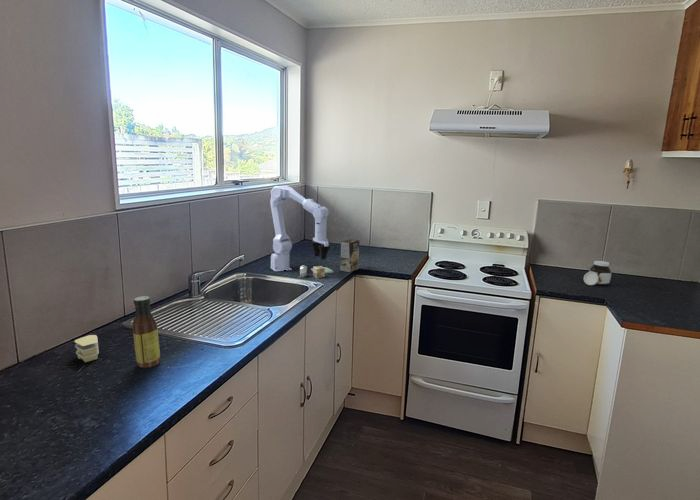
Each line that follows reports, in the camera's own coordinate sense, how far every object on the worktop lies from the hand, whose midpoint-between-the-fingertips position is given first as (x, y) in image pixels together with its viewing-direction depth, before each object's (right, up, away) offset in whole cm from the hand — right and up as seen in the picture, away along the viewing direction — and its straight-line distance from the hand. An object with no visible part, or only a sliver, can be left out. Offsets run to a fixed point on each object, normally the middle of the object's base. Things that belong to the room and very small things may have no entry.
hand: (320, 257), depth 219 cm
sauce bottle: (-43, -29, -95) cm, 108 cm away
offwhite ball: (-9, -6, +7) cm, 13 cm away
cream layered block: (-62, -28, -92) cm, 114 cm away
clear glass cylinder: (-9, -10, 0) cm, 13 cm away
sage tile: (0, -7, +11) cm, 13 cm away
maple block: (-1, -10, 0) cm, 10 cm away
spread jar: (+142, -14, +5) cm, 143 cm away
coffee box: (+15, -7, +16) cm, 23 cm away
